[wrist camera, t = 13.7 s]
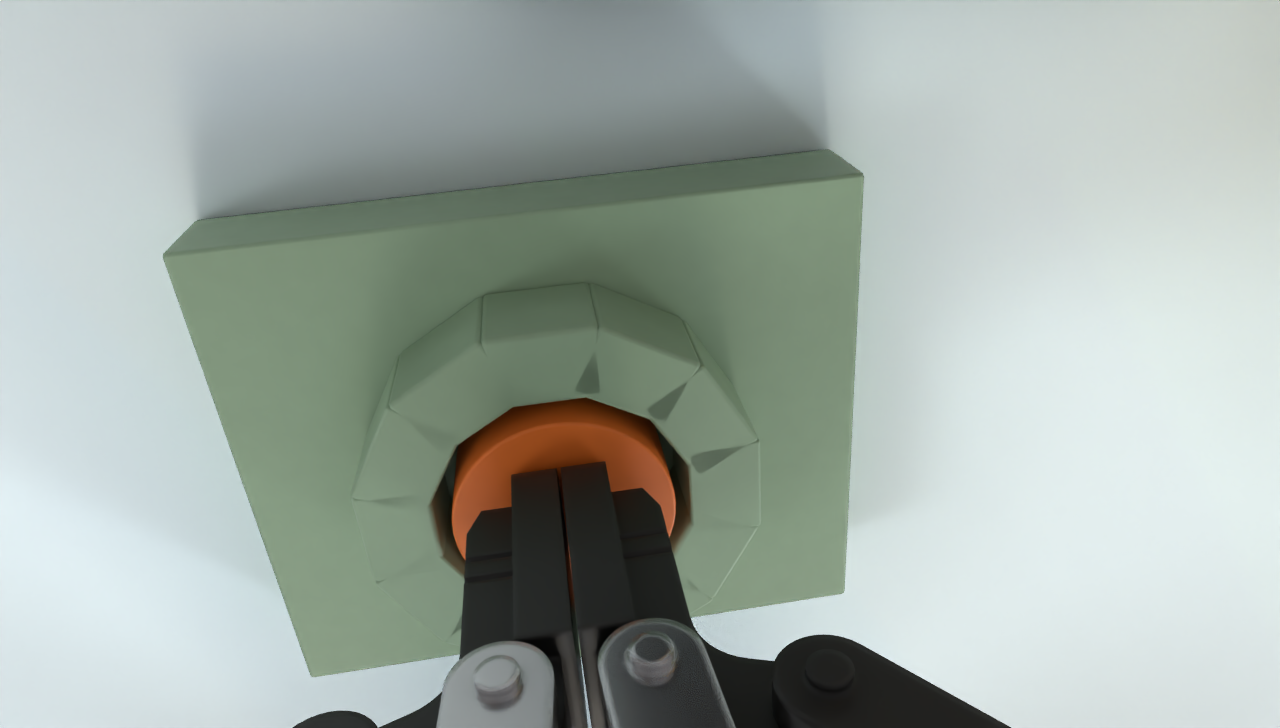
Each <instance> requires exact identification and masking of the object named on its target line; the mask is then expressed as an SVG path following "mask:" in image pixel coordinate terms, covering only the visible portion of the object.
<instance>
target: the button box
mask: <svg viewBox="0 0 1280 728" xmlns="http://www.w3.org/2000/svg"><path fill="white" fill-rule="evenodd" d="M863 183H864V176H863V173H861V172H860V171H859V170H857V169H856V168H855V167H853V166H852V165H851V164H849V163H848V162H846V161H845V160H844V159H842V158H841V157H840V156H838V155H837V154H835V153H834V152H833V151H831V150H829V149H827V150H818V151H809V152H800V153H791V154H783V155H774V156H765V157H756V158H747V159H738V160H729V161H720V162H711V163H702V164H693V165H684V166H676V167H667V168H658V169H649V170H640V171H631V172H622V173H613V174H604V175H595V176H586V177H578V178H569V179H560V180H551V181H542V182H533V183H524V184H515V185H506V186H497V187H488V188H479V189H471V190H462V191H453V192H444V193H435V194H426V195H417V196H408V197H399V198H390V199H381V200H373V201H364V202H355V203H346V204H337V205H328V206H319V207H310V208H301V209H292V210H283V211H274V212H266V213H257V214H248V215H239V216H230V217H221V218H212V219H203V220H197V221H195V222H194V223H193V224H192V225H191V226H190V227H189V228H188V229H187V230H186V231H185V232H184V233H183V234H182V235H181V236H180V237H179V238H178V239H177V240H176V242H175V243H174V244H173V245H172V246H171V247H170V248H169V249H168V250H167V251H166V252H165V253H164V254H163V259H164V262H165V265H166V268H167V270H168V273H169V276H170V279H171V282H172V285H173V287H174V290H175V293H176V296H177V299H178V302H179V304H180V307H181V310H182V313H183V316H184V319H185V321H186V324H187V327H188V330H189V333H190V336H191V338H192V341H193V344H194V347H195V350H196V352H197V355H198V358H199V361H200V364H201V367H202V369H203V372H204V375H205V378H206V381H207V384H208V386H209V389H210V392H211V395H212V398H213V401H214V403H215V406H216V409H217V412H218V415H219V418H220V420H221V423H222V426H223V429H224V432H225V435H226V437H227V440H228V443H229V446H230V449H231V452H232V454H233V457H234V460H235V463H236V466H237V468H238V471H239V474H240V477H241V480H242V483H243V485H244V488H245V491H246V494H247V497H248V500H249V502H250V505H251V508H252V511H253V514H254V517H255V519H256V522H257V525H258V528H259V531H260V534H261V536H262V539H263V542H264V545H265V548H266V551H267V553H268V556H269V559H270V562H271V565H272V567H273V570H274V573H275V576H276V579H277V582H278V584H279V587H280V590H281V593H282V596H283V599H284V601H285V604H286V607H287V610H288V613H289V616H290V618H291V621H292V624H293V627H294V630H295V633H296V635H297V638H298V641H299V644H300V647H301V650H302V652H303V655H304V658H305V661H306V664H307V667H308V669H309V672H310V675H311V676H312V677H319V676H325V675H331V674H338V673H344V672H350V671H357V670H363V669H369V668H376V667H382V666H388V665H394V664H401V663H407V662H413V661H420V660H426V659H432V658H439V657H445V656H451V655H458V654H460V644H461V626H462V608H463V590H464V583H465V581H464V572H465V563H466V561H465V559H464V558H463V556H462V555H461V553H460V551H459V549H458V547H457V544H456V541H455V538H454V535H453V528H452V504H453V492H454V480H455V469H456V457H457V449H458V445H459V444H460V443H461V442H463V441H464V440H466V439H467V438H469V437H470V436H472V435H473V434H475V433H476V432H478V431H479V430H480V429H482V428H483V427H485V426H486V425H488V424H489V423H491V422H492V421H494V420H495V419H497V418H498V417H499V416H501V415H502V414H504V413H505V412H507V411H508V410H510V409H511V408H513V407H518V406H525V405H533V404H540V403H548V402H555V401H563V400H570V399H577V398H585V397H586V398H589V399H592V400H595V401H598V402H601V403H604V404H607V405H610V406H612V407H615V408H618V409H621V410H624V411H627V412H630V413H633V414H636V415H638V416H641V417H644V418H647V419H650V420H651V422H652V423H653V424H654V425H655V427H656V430H657V433H658V436H659V440H660V443H661V447H662V450H663V453H664V457H665V460H666V463H667V467H668V470H669V474H670V477H671V480H672V484H673V487H674V492H675V498H676V515H675V520H674V525H673V528H672V531H671V535H670V537H669V539H670V543H671V546H672V552H673V554H674V558H675V561H676V565H677V569H678V573H679V577H680V580H681V584H682V588H683V592H684V595H685V599H686V603H687V607H688V610H689V614H690V618H692V617H698V616H704V615H710V614H717V613H723V612H729V611H736V610H742V609H748V608H755V607H761V606H767V605H774V604H780V603H786V602H793V601H799V600H805V599H812V598H818V597H824V596H831V595H837V594H842V593H844V589H845V567H846V546H847V525H848V503H849V482H850V461H851V439H852V418H853V397H854V375H855V354H856V333H857V311H858V290H859V269H860V247H861V226H862V205H863ZM578 638H579V636H578ZM579 647H580V643H579ZM580 657H581V650H580Z"/></svg>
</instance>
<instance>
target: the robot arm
mask: <svg viewBox="0 0 1280 728" xmlns="http://www.w3.org/2000/svg"><path fill="white" fill-rule="evenodd" d="M561 477H562V486H563V496H564V505H565V515H566V524H567V534H568V542H567V535H566V528H565V521H564V514H563V507H562V500H561V493H560V486H559V479H558V473H557V468H554V469H546V470H539V471H532V472H525V473H518V474H512V475H511V504H512V507H505V508H498V509H491V510H484V511H481V512H480V514H479V515H478V517H477V519H476V520H475V522H474V523H473V525H472V526H471V528H470V530H469V531H468V533H467V537H466V554H465V560H466V563H465V572H464V581H465V583H464V590H463V608H462V626H461V644H460V658H459V661H458V662H457V663H456V664H455V665H454V666H453V668H452V669H451V671H450V672H449V674H448V676H447V678H446V680H445V682H444V686H443V691H442V692H441V693H440V694H439V695H438V696H437V697H436V698H435V699H433V700H432V701H431V702H430V703H428V704H427V705H425V706H424V707H422V708H421V709H419V710H417V711H415V712H413V713H411V714H409V715H406V716H404V717H402V718H400V719H397V720H395V721H393V722H391V723H388V724H386V725H384V726H381V727H379V728H588V724H587V714H586V705H585V695H584V685H583V676H582V666H581V657H582V664H583V670H584V677H585V684H586V691H587V698H588V705H589V712H590V719H591V726H592V728H1011V727H1009V726H1007V725H1005V724H1004V723H1002V722H1000V721H998V720H996V719H994V718H993V717H991V716H989V715H987V714H985V713H984V712H982V711H980V710H978V709H976V708H975V707H973V706H971V705H969V704H967V703H966V702H964V701H962V700H960V699H958V698H957V697H955V696H953V695H951V694H949V693H947V692H946V691H944V690H942V689H940V688H938V687H937V686H935V685H933V684H931V683H929V682H928V681H926V680H924V679H922V678H920V677H919V676H917V675H915V674H913V673H911V672H910V671H908V670H906V669H904V668H902V667H901V666H899V665H897V664H895V663H893V662H891V661H890V660H888V659H886V658H884V657H882V656H881V655H879V654H877V653H875V652H873V651H872V650H870V649H868V648H866V647H864V646H863V645H861V644H859V643H857V642H854V641H852V640H850V639H847V638H843V637H839V636H834V635H813V636H808V637H804V638H801V639H798V640H796V641H794V642H792V643H790V644H789V645H787V646H786V647H785V648H784V649H782V651H781V652H780V653H779V654H778V656H777V657H776V659H775V661H767V660H757V659H748V658H742V657H737V656H733V655H730V654H727V653H724V652H722V651H720V650H718V649H716V648H714V647H713V646H711V645H710V644H708V643H707V642H706V641H705V640H704V639H703V638H702V637H701V636H700V635H699V634H698V633H697V631H696V629H695V628H694V626H693V624H692V621H691V618H690V614H689V610H688V607H687V603H686V599H685V595H684V592H683V588H682V584H681V580H680V577H679V573H678V569H677V565H676V561H675V558H674V554H673V552H672V546H671V543H670V539H669V535H668V533H667V528H666V524H665V520H664V516H663V513H662V509H661V505H660V504H659V503H658V502H657V501H655V500H654V499H653V498H652V497H651V496H650V495H649V494H648V493H647V492H646V491H645V490H644V489H643V488H636V489H629V490H622V491H615V492H611V489H610V483H609V478H608V473H607V467H606V462H605V461H602V462H595V463H588V464H581V465H574V466H566V467H561ZM568 543H569V549H568ZM569 553H570V557H569ZM570 563H571V564H570ZM578 636H579V638H578ZM579 643H580V647H579ZM580 650H581V657H580ZM293 728H378V727H377V726H376V724H375V723H374V722H373V721H372V720H371V719H369V718H368V717H366V716H365V715H362V714H360V713H357V712H352V711H333V712H327V713H323V714H319V715H316V716H314V717H311V718H309V719H307V720H305V721H303V722H301V723H299V724H297V725H296V726H294V727H293Z"/></svg>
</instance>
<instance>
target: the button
mask: <svg viewBox="0 0 1280 728" xmlns="http://www.w3.org/2000/svg"><path fill="white" fill-rule="evenodd" d="M602 461H605V462H606V467H607V473H608V478H609V483H610V489H611V492H615V491H622V490H629V489H636V488H643V489H644V490H645V491H646V492H647V493H648V494H649V495H650V496H651V497H652V498H653V499H654V500H655V501H657V502H658V503H659V504H660V505H661V509H662V513H663V516H664V520H665V524H666V528H667V533H668V535H669V537H670V535H671V531H672V528H673V525H674V520H675V515H676V498H675V492H674V487H673V484H672V480H671V477H670V474H669V470H668V467H667V463H666V460H665V457H664V453H663V450H662V447H661V443H660V440H659V436H658V433H657V430H656V427H655V425H654V424H653V423H652V422H651V420H650V419H647V418H644V417H641V416H638V415H636V414H633V413H630V412H627V411H624V410H621V409H618V408H615V407H612V406H610V405H607V404H604V403H601V402H598V401H595V400H592V399H589V398H586V397H585V398H577V399H570V400H563V401H555V402H548V403H540V404H533V405H525V406H518V407H513V408H511V409H510V410H508V411H507V412H505V413H504V414H502V415H501V416H499V417H498V418H497V419H495V420H494V421H492V422H491V423H489V424H488V425H486V426H485V427H483V428H482V429H480V430H479V431H478V432H476V433H475V434H473V435H472V436H470V437H469V438H467V439H466V440H464V441H463V442H461V443H460V444H459V445H458V449H457V457H456V469H455V480H454V492H453V504H452V528H453V535H454V538H455V541H456V544H457V547H458V549H459V551H460V553H461V555H462V556H463V558H464V559H465V554H466V537H467V533H468V531H469V530H470V528H471V526H472V525H473V523H474V522H475V520H476V519H477V517H478V515H479V514H480V512H481V511H484V510H491V509H498V508H505V507H512V504H511V475H512V474H518V473H525V472H532V471H539V470H546V469H554V468H557V473H558V479H559V486H560V493H561V500H562V507H563V514H564V521H565V528H566V535H567V542H568V534H567V524H566V515H565V505H564V496H563V486H562V477H561V467H566V466H574V465H581V464H588V463H595V462H602ZM568 549H569V543H568ZM569 557H570V553H569ZM465 561H466V560H465ZM570 564H571V563H570Z"/></svg>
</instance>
